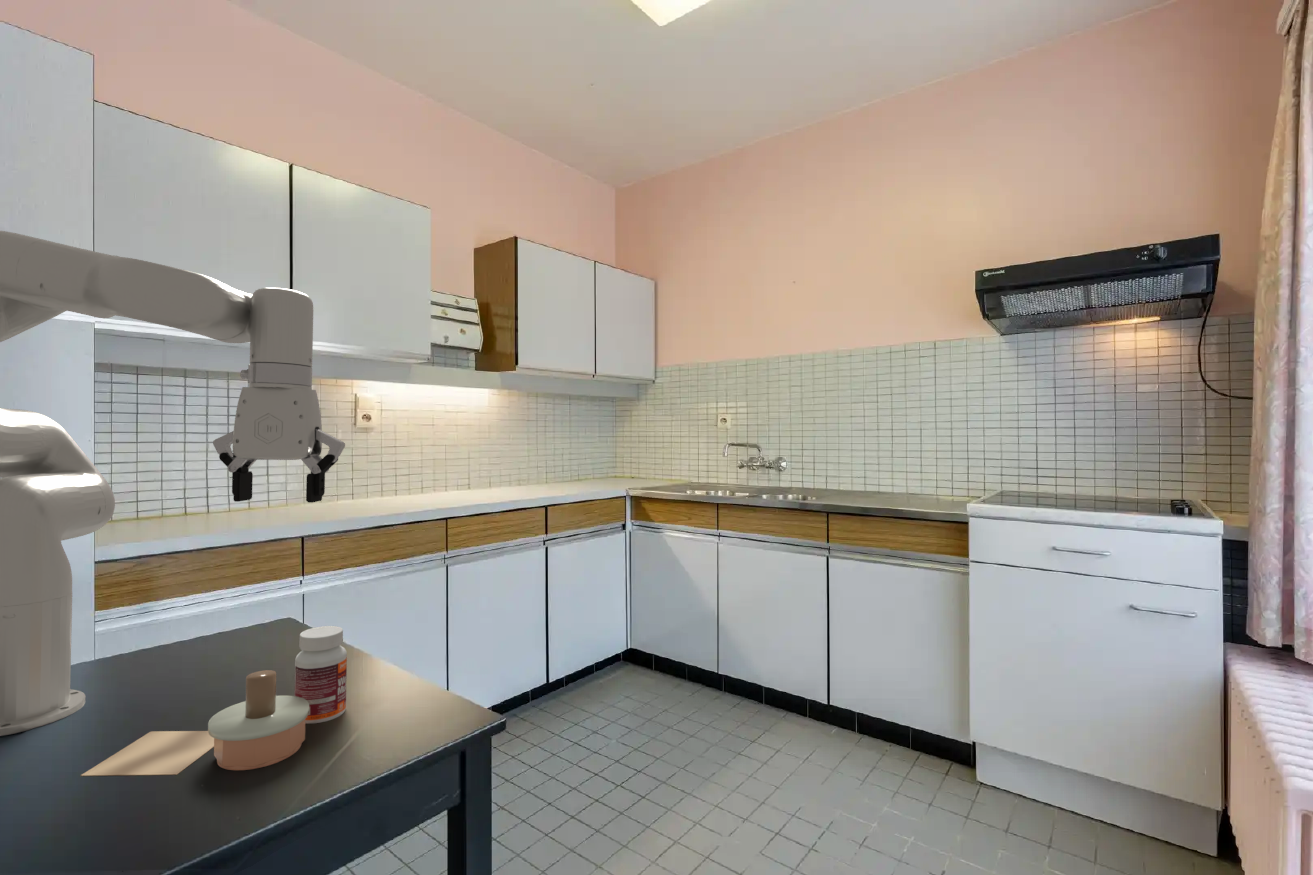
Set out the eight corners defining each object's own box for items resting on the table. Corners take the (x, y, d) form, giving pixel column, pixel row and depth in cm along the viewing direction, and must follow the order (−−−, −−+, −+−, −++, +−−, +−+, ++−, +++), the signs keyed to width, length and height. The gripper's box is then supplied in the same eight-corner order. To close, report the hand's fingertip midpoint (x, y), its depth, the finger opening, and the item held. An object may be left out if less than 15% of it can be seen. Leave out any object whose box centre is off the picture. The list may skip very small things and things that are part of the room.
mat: (80, 778, 67) (80, 775, 67) (150, 734, 77) (150, 731, 77) (176, 777, 67) (177, 774, 67) (234, 733, 77) (234, 730, 77)
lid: (186, 741, 67) (187, 692, 67) (242, 701, 77) (243, 659, 77) (280, 740, 68) (282, 692, 68) (324, 701, 78) (325, 659, 78)
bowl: (198, 773, 68) (199, 737, 68) (245, 736, 77) (245, 704, 77) (277, 772, 69) (278, 736, 69) (314, 736, 77) (315, 704, 77)
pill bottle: (348, 719, 82) (350, 634, 82) (295, 730, 78) (297, 641, 78) (342, 702, 87) (344, 622, 87) (292, 712, 84) (294, 628, 84)
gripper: (198, 374, 82) (195, 503, 82) (332, 378, 83) (329, 504, 83) (234, 380, 90) (231, 497, 89) (356, 383, 91) (353, 499, 90)
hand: (278, 501), depth 86 cm, fingers open, 9 cm apart
